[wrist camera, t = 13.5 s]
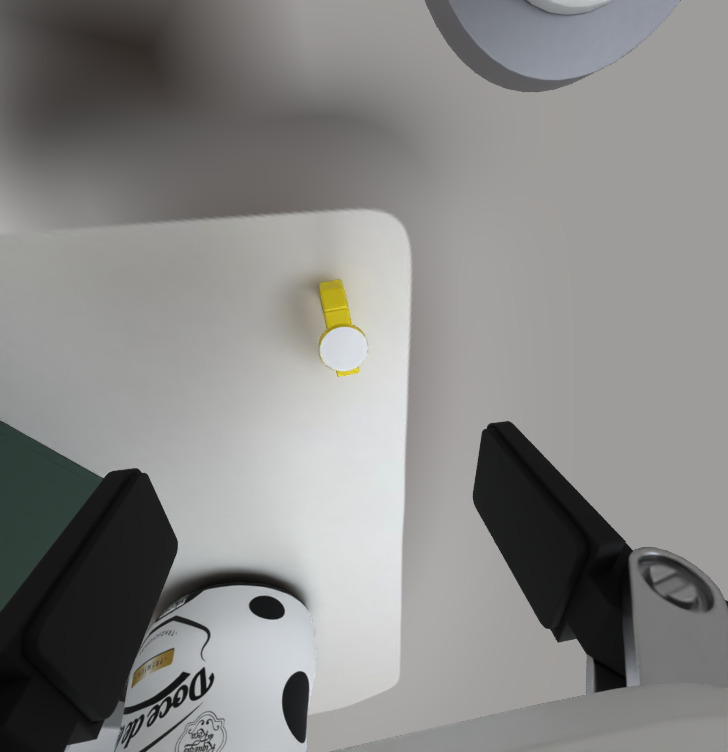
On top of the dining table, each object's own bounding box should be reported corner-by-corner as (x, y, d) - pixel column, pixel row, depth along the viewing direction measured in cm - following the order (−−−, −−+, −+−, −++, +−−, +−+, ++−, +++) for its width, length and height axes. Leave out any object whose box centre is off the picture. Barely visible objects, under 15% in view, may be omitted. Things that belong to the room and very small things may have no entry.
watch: (307, 277, 22) (306, 298, 17) (348, 270, 22) (359, 288, 17) (325, 357, 25) (329, 398, 19) (361, 350, 25) (375, 388, 20)
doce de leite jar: (159, 559, 32) (4, 912, 16) (332, 569, 36) (349, 852, 20) (151, 654, 38) (39, 968, 23) (298, 653, 43) (290, 914, 27)
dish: (182, 666, 40) (166, 722, 36) (180, 718, 46) (166, 772, 42) (8, 674, 36) (-34, 738, 32) (30, 730, 42) (-2, 791, 38)
